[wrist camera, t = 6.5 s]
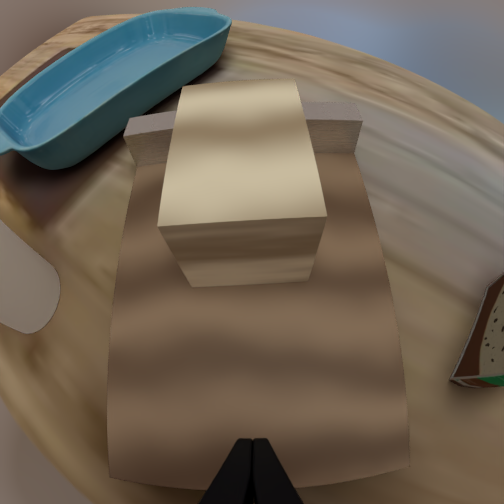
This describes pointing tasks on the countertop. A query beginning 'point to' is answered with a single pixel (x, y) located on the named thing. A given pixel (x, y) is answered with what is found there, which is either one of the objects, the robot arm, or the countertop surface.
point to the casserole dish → (109, 84)
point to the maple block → (242, 185)
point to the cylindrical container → (25, 285)
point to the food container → (484, 343)
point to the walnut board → (256, 354)
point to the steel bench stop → (316, 115)
